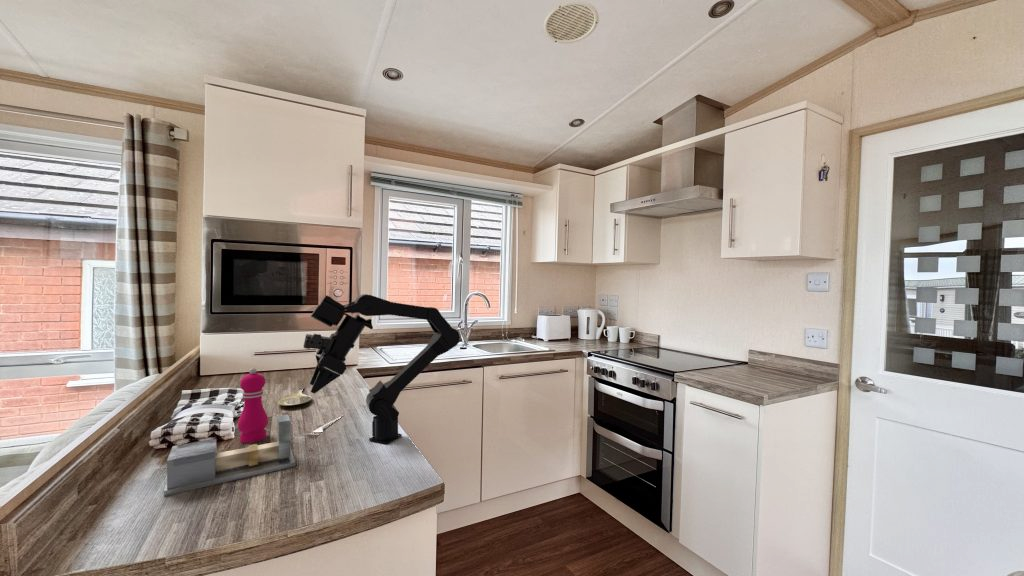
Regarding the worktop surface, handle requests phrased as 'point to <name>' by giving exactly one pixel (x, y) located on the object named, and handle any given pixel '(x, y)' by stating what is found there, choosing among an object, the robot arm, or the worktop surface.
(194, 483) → the grey long blocky piece
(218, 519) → the worktop surface
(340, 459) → the worktop surface
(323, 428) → the fork
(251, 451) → the shaft
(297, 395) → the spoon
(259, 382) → the pepper mill
